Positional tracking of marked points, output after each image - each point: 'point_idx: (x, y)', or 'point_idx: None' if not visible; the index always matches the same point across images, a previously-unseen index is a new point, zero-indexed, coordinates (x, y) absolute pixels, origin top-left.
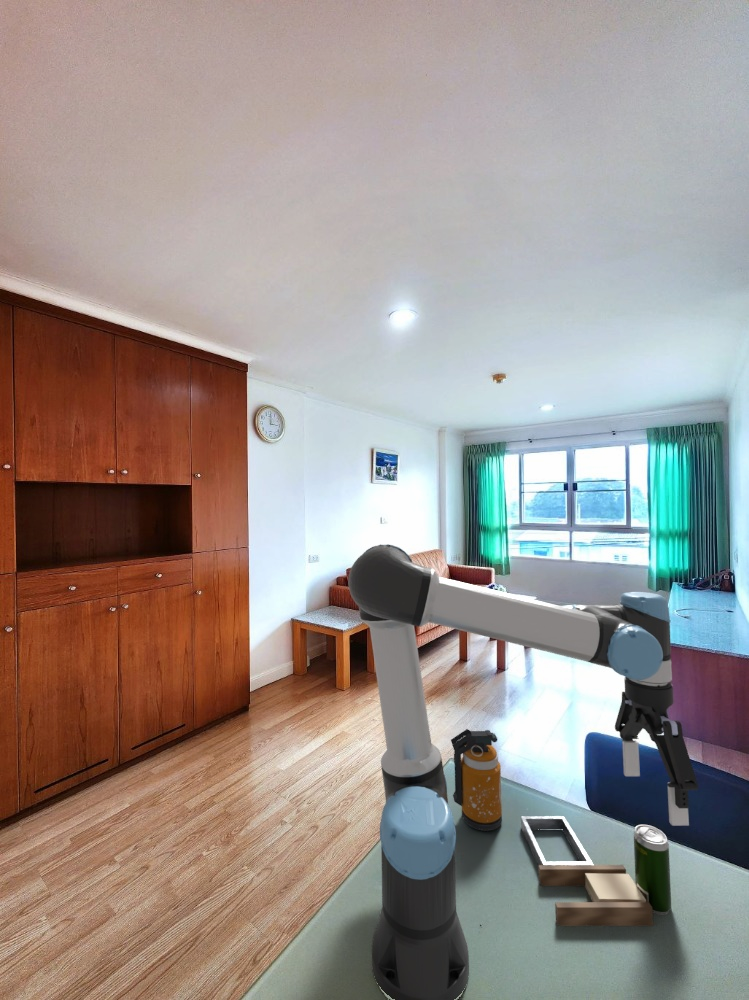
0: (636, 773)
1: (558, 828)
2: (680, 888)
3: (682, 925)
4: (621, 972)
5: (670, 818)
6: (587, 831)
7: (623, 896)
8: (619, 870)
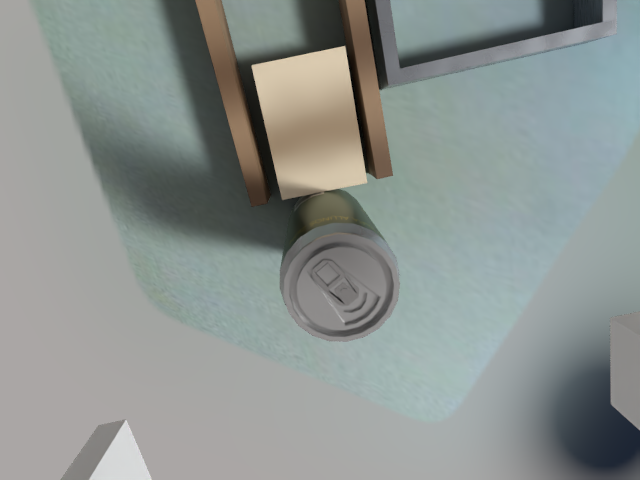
0: (626, 398)
1: (577, 16)
2: None
3: (275, 263)
4: (104, 81)
5: (98, 447)
6: (571, 119)
7: (277, 142)
8: (372, 159)
